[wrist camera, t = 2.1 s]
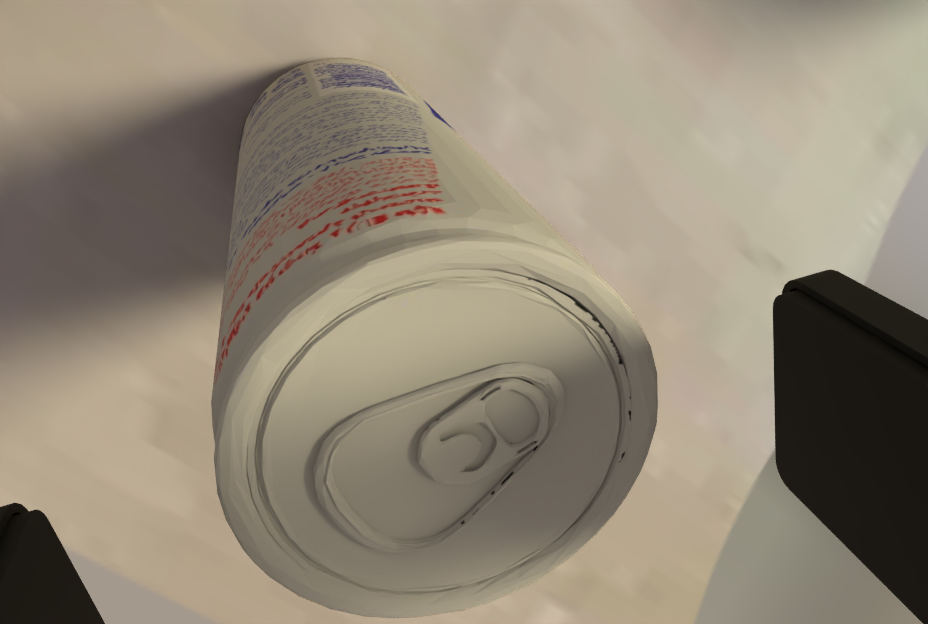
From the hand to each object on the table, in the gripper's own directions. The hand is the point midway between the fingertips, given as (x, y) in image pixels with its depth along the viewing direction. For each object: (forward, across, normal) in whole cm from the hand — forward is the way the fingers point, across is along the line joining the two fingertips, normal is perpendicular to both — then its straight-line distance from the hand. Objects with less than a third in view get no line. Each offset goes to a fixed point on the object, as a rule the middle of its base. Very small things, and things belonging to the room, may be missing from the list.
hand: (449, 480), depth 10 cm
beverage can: (+15, 0, -1) cm, 15 cm away
